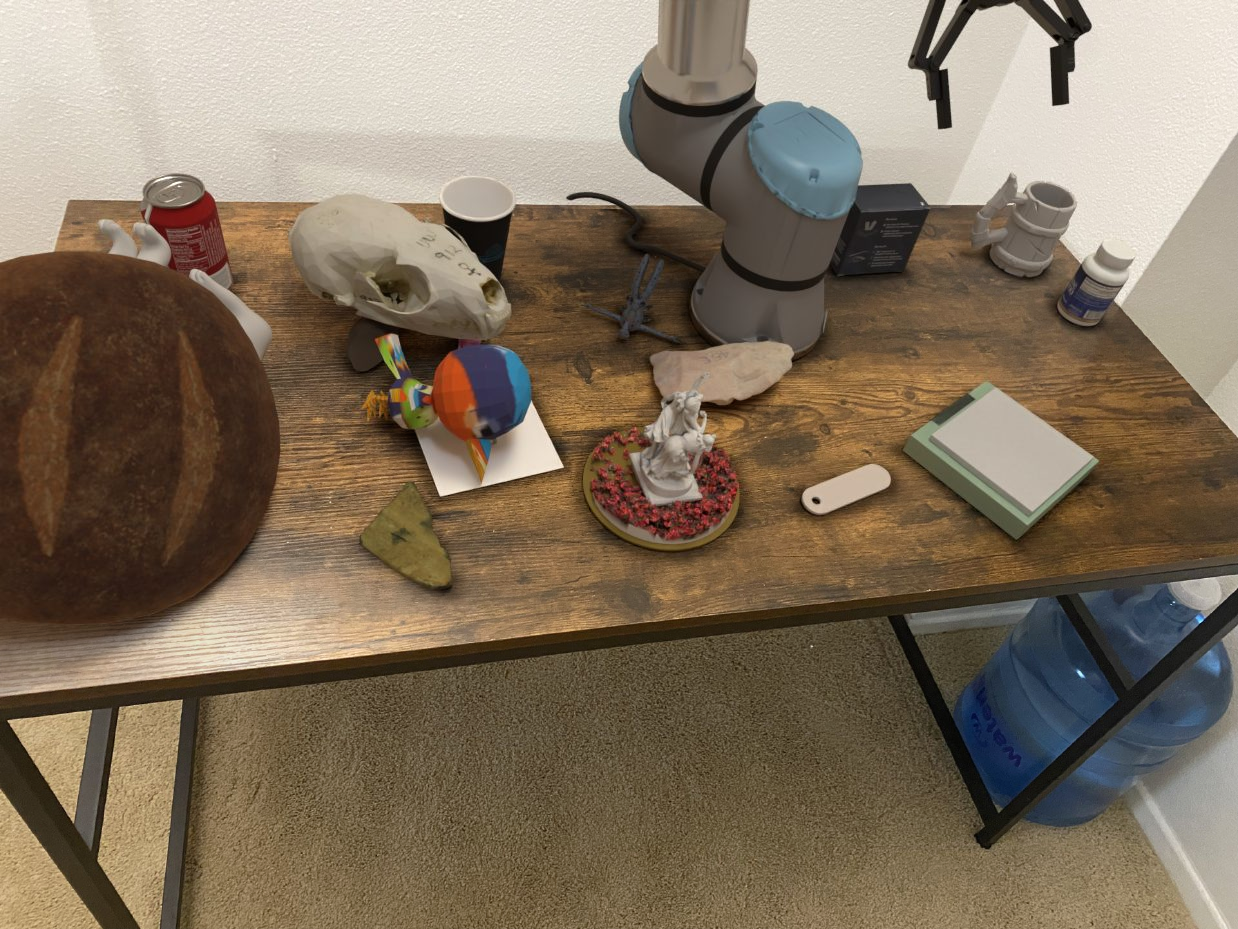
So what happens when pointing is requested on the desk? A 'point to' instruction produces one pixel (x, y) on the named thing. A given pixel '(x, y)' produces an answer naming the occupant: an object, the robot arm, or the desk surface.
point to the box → (880, 229)
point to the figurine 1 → (368, 340)
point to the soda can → (187, 225)
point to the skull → (396, 268)
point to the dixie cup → (480, 216)
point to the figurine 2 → (637, 303)
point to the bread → (123, 438)
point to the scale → (1000, 458)
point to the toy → (458, 395)
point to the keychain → (846, 489)
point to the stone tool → (723, 370)
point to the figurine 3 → (664, 480)
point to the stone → (409, 541)
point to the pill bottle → (1097, 283)
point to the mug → (1024, 225)
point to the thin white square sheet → (508, 457)
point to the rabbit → (160, 253)
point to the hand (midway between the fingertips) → (1002, 117)
